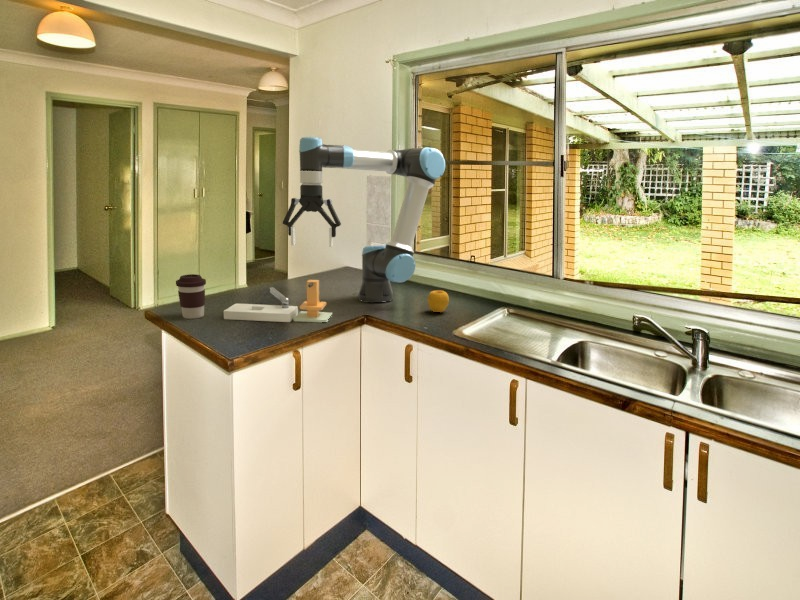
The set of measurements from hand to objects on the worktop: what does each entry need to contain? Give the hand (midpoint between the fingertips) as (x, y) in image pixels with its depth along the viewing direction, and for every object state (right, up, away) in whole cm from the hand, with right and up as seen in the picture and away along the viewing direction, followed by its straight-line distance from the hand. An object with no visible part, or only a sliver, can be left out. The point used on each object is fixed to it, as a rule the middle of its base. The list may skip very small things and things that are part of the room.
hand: (312, 245), depth 178 cm
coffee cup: (-44, -25, +5) cm, 51 cm away
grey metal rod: (-16, -18, +16) cm, 29 cm away
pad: (-1, -26, +7) cm, 27 cm away
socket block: (-20, -25, +7) cm, 33 cm away
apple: (+46, -24, +19) cm, 55 cm away
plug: (-1, -25, +6) cm, 26 cm away
